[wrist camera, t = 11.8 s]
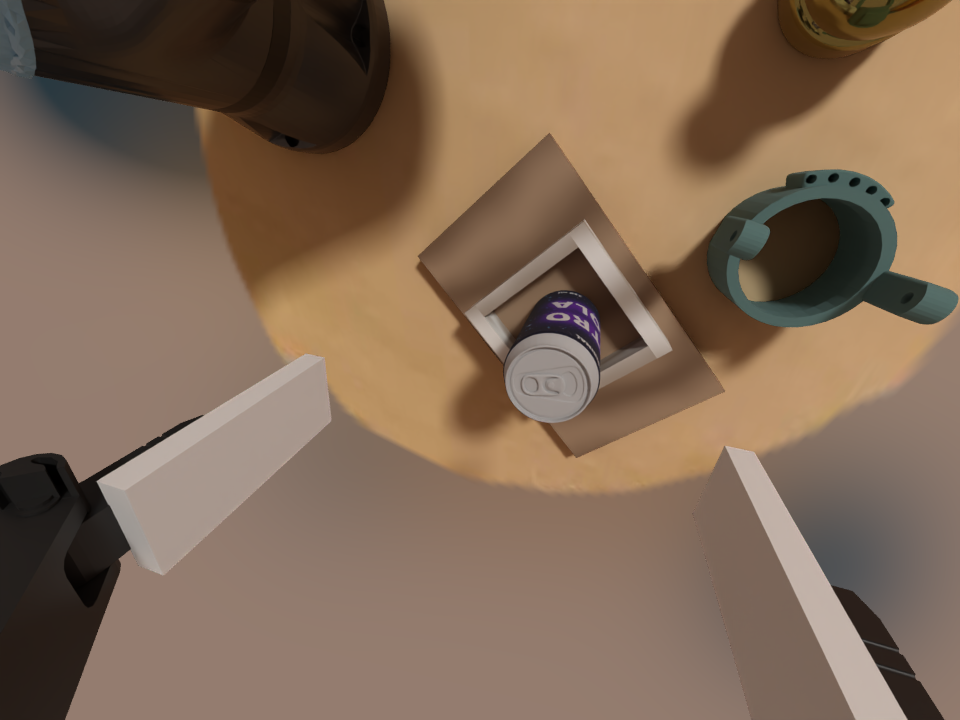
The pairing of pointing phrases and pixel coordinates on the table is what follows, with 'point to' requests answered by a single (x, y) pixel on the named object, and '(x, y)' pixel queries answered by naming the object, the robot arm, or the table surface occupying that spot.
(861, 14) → the brass calibration weight
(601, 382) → the can holder
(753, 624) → the robot arm
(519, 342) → the beverage can
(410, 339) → the table surface
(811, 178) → the teal cauldron pot
